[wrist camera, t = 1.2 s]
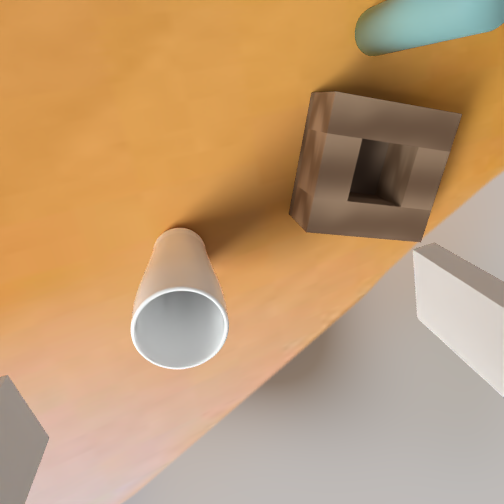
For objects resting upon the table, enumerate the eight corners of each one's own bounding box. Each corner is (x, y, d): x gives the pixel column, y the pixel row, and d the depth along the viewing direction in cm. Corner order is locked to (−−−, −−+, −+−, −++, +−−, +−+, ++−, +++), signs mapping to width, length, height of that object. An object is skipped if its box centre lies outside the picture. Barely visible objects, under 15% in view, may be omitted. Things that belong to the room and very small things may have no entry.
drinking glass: (221, 231, 39) (245, 301, 26) (199, 286, 41) (209, 379, 28) (158, 209, 37) (147, 273, 24) (137, 268, 39) (116, 359, 26)
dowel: (360, 2, 34) (472, -57, 21) (400, 11, 35) (530, -40, 22) (350, 51, 35) (448, 25, 22) (388, 59, 36) (504, 38, 23)
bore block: (311, 92, 36) (335, 91, 30) (421, 111, 38) (462, 113, 33) (288, 213, 40) (306, 232, 35) (389, 223, 43) (420, 242, 37)
